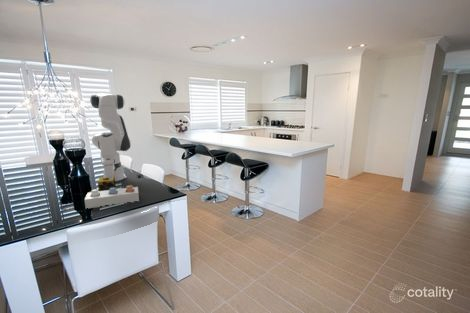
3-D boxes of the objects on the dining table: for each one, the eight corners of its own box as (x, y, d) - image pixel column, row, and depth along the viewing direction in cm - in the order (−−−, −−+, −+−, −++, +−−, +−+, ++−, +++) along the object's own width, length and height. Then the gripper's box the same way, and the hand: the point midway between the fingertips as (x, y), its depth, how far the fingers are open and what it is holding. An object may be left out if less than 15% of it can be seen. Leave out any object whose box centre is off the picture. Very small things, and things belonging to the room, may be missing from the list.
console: (88, 201, 152) (87, 192, 150) (138, 194, 164) (137, 186, 162) (85, 208, 141) (84, 199, 140) (139, 201, 153) (138, 192, 152)
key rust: (126, 192, 156) (126, 185, 155) (133, 191, 158) (132, 185, 157) (126, 194, 153) (126, 187, 152) (133, 194, 154) (132, 186, 153)
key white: (92, 197, 148) (91, 189, 147) (99, 196, 150) (98, 188, 149) (91, 199, 145) (90, 191, 144) (98, 198, 146) (98, 191, 145)
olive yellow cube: (101, 190, 171) (99, 177, 169) (116, 188, 174) (115, 176, 172) (98, 195, 162) (96, 181, 159) (114, 193, 165) (113, 180, 163)
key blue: (110, 195, 152) (109, 187, 151) (116, 194, 154) (116, 187, 153) (109, 197, 149) (108, 190, 148) (116, 196, 150) (116, 189, 149)
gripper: (104, 155, 154) (106, 175, 157) (101, 163, 136) (104, 185, 139) (115, 155, 156) (117, 174, 159) (113, 162, 138) (116, 184, 141)
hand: (111, 179), depth 149 cm, fingers closed
